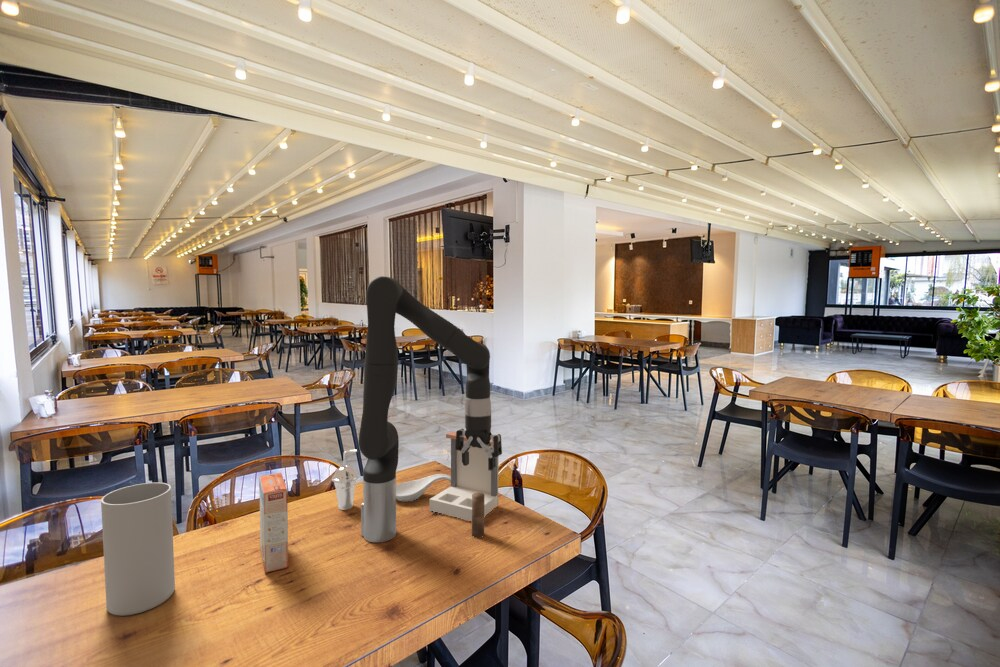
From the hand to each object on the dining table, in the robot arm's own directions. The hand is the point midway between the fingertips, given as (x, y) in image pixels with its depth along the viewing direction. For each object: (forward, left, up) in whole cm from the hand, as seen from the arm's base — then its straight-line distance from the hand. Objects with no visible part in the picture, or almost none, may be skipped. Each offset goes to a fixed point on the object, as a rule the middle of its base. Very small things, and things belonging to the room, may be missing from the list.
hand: (478, 467), depth 139 cm
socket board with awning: (-13, +13, -20) cm, 28 cm away
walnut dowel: (0, 0, -20) cm, 20 cm away
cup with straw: (-48, -5, -21) cm, 53 cm away
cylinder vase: (-52, -63, -21) cm, 84 cm away
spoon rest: (-31, +15, -21) cm, 40 cm away
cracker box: (-41, -37, -21) cm, 59 cm away
